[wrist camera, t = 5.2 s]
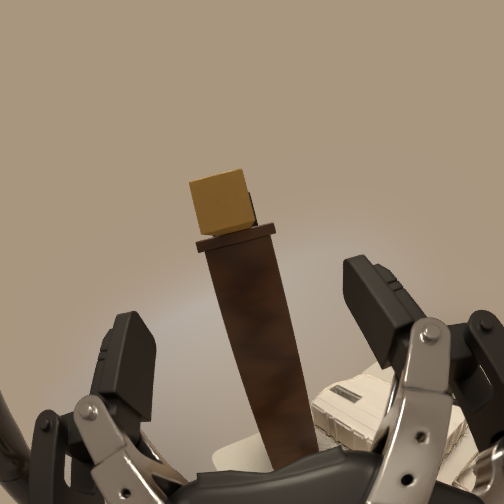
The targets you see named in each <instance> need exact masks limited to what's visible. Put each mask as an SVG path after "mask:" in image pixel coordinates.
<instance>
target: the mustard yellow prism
mask: <svg viewBox="0 0 504 504" xmlns="http://www.w3.org/2000/svg"><path fill="white" fill-rule="evenodd" d="M189 185H190V190H191V194H192V198H193V203H194V207H195V211H196V215H197V219H198V224H199V228H200V232H201V234H202V235H212V236H213V237H216V236H220V235H224V234H228V233H232V232H236V231H240V230H243V229H247V228H251V227H255V226H258V223H257V219H256V215H255V211H254V207H253V204H252V200H251V196H250V193H249V192H248V190H247V186H246V182H245V178H244V175H243V171H242V168H240V169H236V170H232V171H228V172H224V173H220V174H216V175H213V176H209V177H205V178H202V179H198V180H195V181H191V182H189Z"/></svg>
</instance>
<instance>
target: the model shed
mask: <svg viewBox="0 0 504 504" xmlns="http://www.w3.org/2000/svg"><path fill="white" fill-rule="evenodd" d="M390 388H391V384H390V383H388V382H385V381H382V380H380V379H379V378H376V377H374V376H371V375H367V374H363V373H362V374H360V375H358V376H355V377H354V378H351V379H349V380H345V381H339V382H336V383H333V384H332V385H330V386H328V387H327V388H325V389H324V390H322V391H321V392H320V393H319V394H318V395H317V396H316V397H315V398H314V400H313V401H312V404H311V409H312V414H313V419H314V424H315V425H318V426H319V427H320V428H322V429H323V430H325V431H326V432H327V435H328V436H330V435H331V436H333V437H334V438H335V441H340V442H341V443H343V444H344V445H346V446H347V447H348V448H350V449H351V450H363V451H370V448H371V445H372V443H373V440H374V437H375V434H376V432H377V430H378V427H379V425H380V423H381V420H382V417H383V414H384V410H385V407H386V403H387V400H388V396H389V392H390ZM464 419H465V417H464V415H463V413H462V410H461V408H460V407H458V406H455V405H452V412H451V418H450V424H449V430H448V435H447V440H446V444H445V449H444V453H443V457H444V456H445V455H446V454H447V453H448V454H449V452H450V449H451V447H452V446H453V445H454V444H457V441H458V439H459V437H460V436H461V435H462V434H464V433H465V430H466V428H467V426H468V424H467V422H466V419H465V420H464ZM463 420H464V423H463ZM443 457H442V459H443ZM441 462H442V461H441Z"/></svg>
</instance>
